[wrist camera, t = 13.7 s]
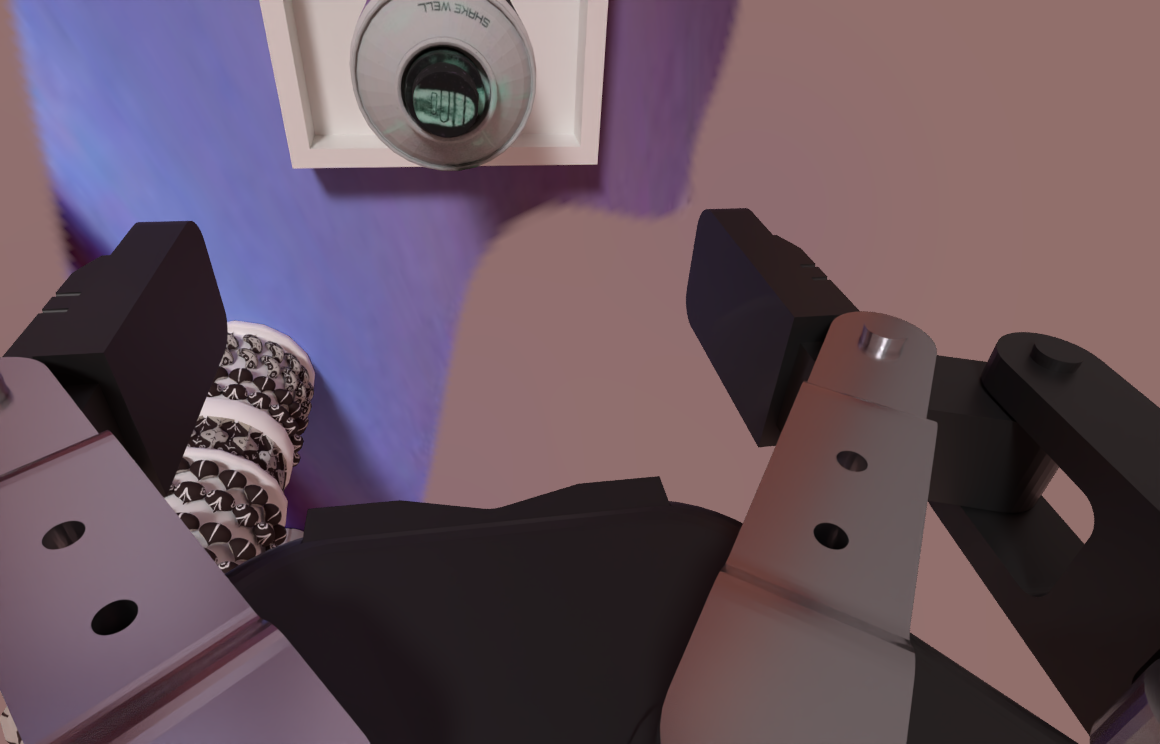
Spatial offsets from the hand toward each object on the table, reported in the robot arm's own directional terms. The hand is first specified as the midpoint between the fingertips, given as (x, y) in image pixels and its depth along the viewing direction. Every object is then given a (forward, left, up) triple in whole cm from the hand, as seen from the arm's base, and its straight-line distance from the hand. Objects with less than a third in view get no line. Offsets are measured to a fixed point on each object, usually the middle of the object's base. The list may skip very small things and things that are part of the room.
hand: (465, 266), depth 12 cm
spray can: (0, 0, -29) cm, 29 cm away
